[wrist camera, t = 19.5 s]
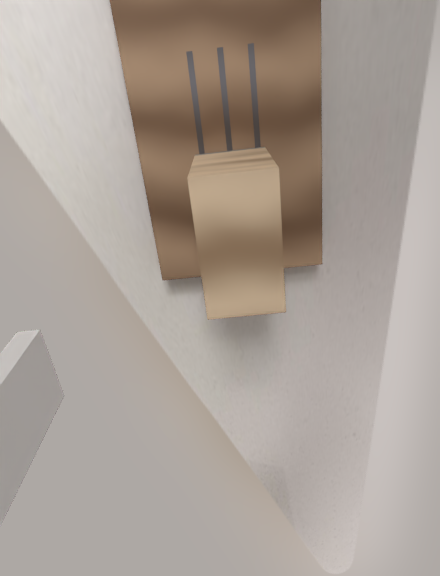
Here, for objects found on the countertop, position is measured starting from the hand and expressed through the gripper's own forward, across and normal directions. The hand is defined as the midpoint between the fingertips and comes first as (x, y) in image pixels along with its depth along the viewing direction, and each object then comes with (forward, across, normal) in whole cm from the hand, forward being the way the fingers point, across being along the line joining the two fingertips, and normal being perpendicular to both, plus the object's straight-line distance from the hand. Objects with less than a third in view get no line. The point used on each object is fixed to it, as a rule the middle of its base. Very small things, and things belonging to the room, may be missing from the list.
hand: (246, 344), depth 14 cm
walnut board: (+22, 0, +5) cm, 23 cm away
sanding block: (+20, 0, -2) cm, 20 cm away
